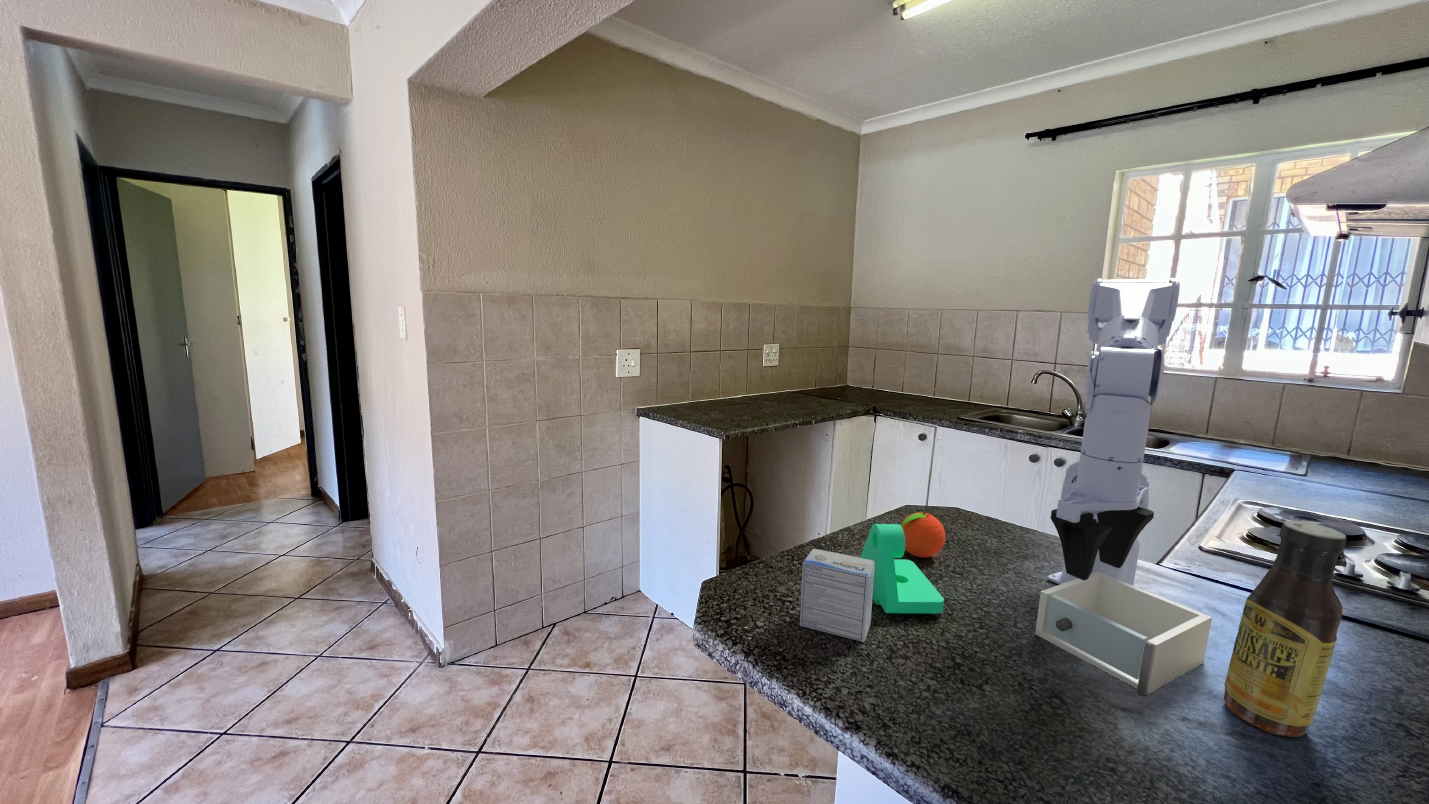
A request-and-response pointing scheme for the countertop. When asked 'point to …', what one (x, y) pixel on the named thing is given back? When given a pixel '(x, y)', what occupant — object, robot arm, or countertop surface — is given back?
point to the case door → (1096, 635)
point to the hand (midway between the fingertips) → (1094, 570)
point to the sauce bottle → (1288, 633)
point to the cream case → (1136, 627)
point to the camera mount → (898, 574)
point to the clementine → (923, 534)
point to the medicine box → (837, 594)
